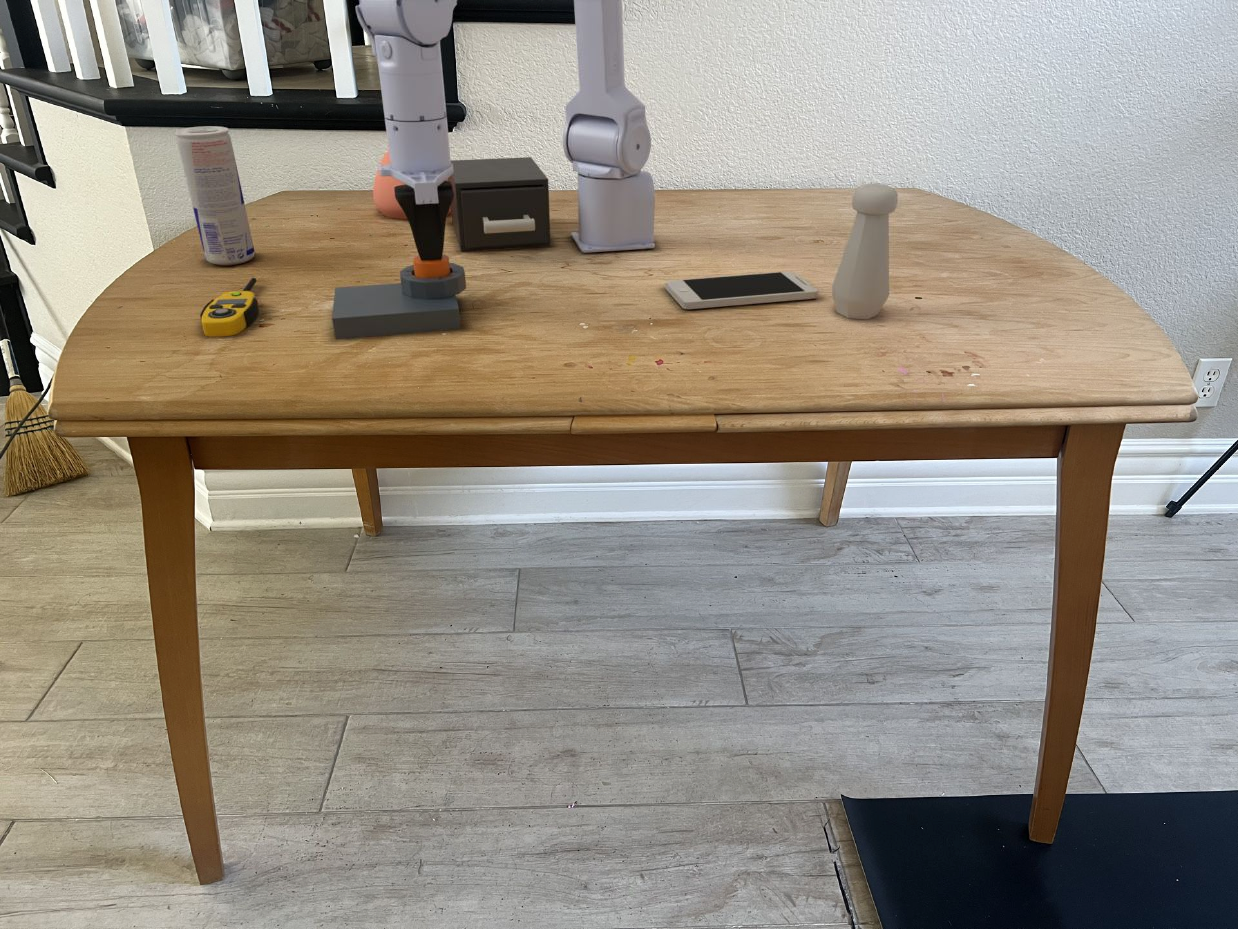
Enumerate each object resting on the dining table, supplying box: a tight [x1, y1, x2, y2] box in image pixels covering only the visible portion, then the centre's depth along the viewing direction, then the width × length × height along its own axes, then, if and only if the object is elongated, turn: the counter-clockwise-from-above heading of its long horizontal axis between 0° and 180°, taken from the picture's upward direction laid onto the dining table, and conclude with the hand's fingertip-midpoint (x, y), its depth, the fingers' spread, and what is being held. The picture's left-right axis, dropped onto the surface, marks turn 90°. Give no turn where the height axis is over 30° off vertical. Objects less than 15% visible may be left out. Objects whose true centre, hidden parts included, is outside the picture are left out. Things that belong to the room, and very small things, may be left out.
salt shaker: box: [831, 183, 899, 320], centre depth 87 cm, size 6×6×13 cm
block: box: [331, 262, 467, 340], centre depth 87 cm, size 13×10×4 cm
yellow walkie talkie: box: [199, 277, 259, 338], centre depth 89 cm, size 5×2×15 cm
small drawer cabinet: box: [448, 156, 551, 253], centre depth 112 cm, size 13×11×8 cm
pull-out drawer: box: [461, 185, 547, 248], centre depth 109 cm, size 17×10×7 cm, turn 14°
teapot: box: [372, 150, 451, 220], centre depth 121 cm, size 12×18×10 cm
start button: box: [412, 253, 450, 278], centre depth 88 cm, size 4×4×2 cm
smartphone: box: [664, 270, 819, 310], centre depth 94 cm, size 7×16×1 cm, turn 105°
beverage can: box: [174, 125, 256, 266], centre depth 100 cm, size 6×6×15 cm
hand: (431, 258), depth 87 cm, fingers closed, pressing on start button
